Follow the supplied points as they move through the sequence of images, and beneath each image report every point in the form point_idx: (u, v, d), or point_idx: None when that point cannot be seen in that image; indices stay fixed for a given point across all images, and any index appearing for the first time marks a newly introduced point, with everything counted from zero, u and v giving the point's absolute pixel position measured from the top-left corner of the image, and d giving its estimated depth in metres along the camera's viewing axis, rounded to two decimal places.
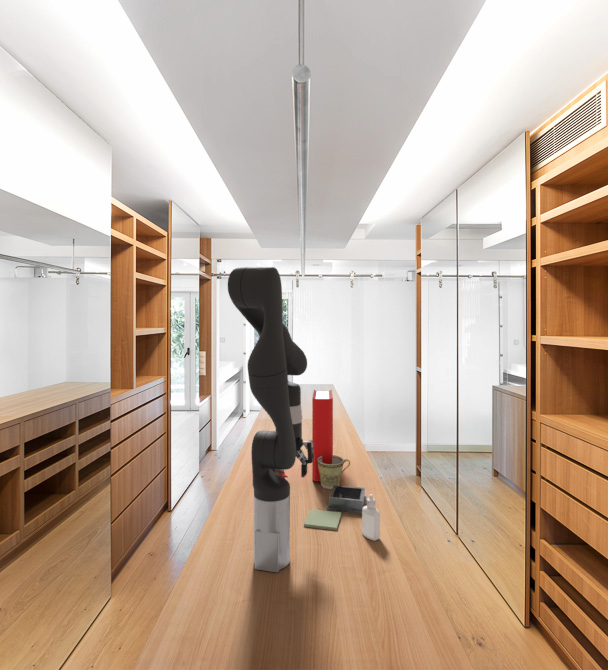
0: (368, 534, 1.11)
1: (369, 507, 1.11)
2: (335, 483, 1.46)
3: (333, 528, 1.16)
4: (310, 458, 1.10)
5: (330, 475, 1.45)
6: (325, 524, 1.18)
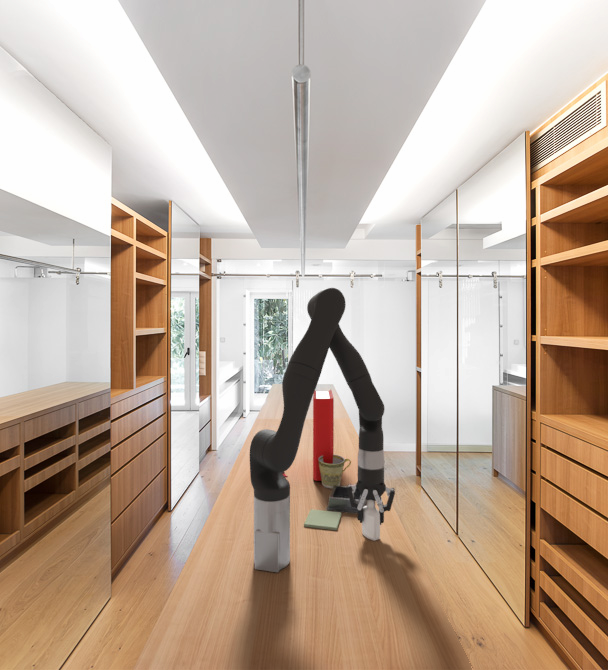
0: (368, 534, 1.11)
1: (369, 507, 1.11)
2: (336, 482, 1.47)
3: (333, 528, 1.16)
4: (389, 506, 1.10)
5: (331, 474, 1.45)
6: (325, 524, 1.18)
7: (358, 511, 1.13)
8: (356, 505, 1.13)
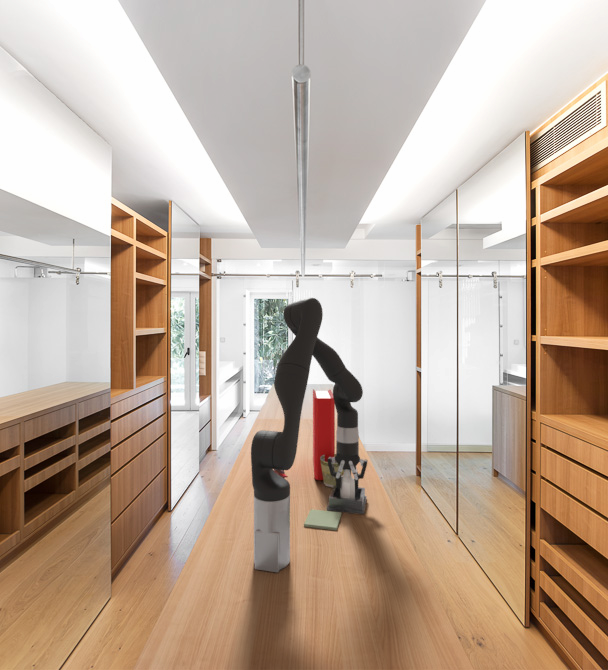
0: None
1: (346, 475, 1.32)
2: None
3: (333, 528, 1.16)
4: (362, 474, 1.31)
5: None
6: (325, 524, 1.18)
7: (337, 479, 1.33)
8: (335, 474, 1.33)
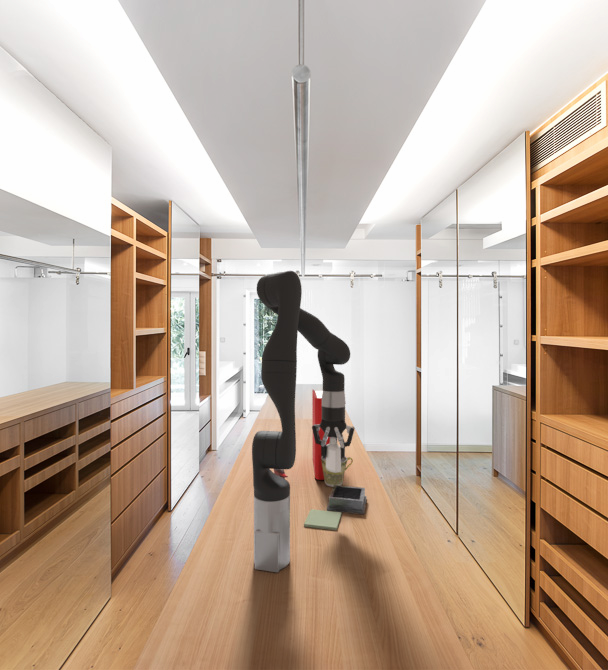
0: (330, 467, 1.24)
1: (331, 443, 1.24)
2: (339, 481, 1.48)
3: (333, 528, 1.16)
4: (349, 442, 1.23)
5: (335, 473, 1.46)
6: (325, 524, 1.18)
7: (322, 447, 1.25)
8: (320, 442, 1.25)
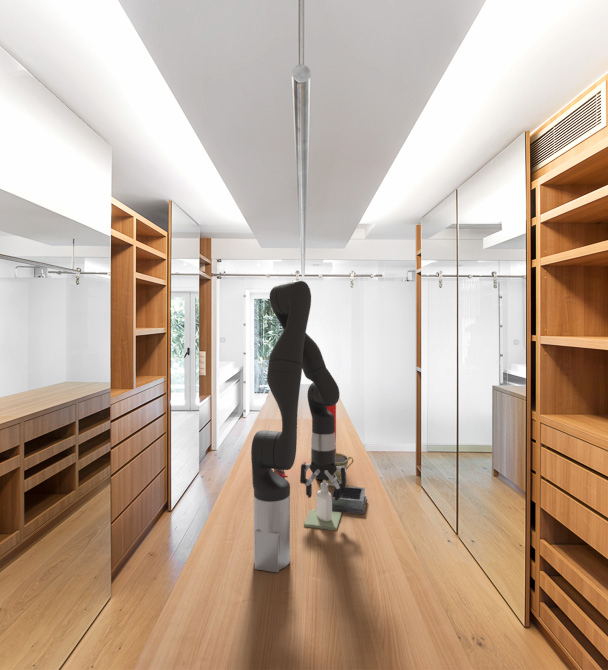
0: (321, 515, 1.20)
1: (322, 491, 1.21)
2: (340, 480, 1.48)
3: (333, 528, 1.16)
4: (343, 482, 1.19)
5: (336, 473, 1.47)
6: (325, 524, 1.18)
7: (307, 487, 1.22)
8: (305, 481, 1.22)
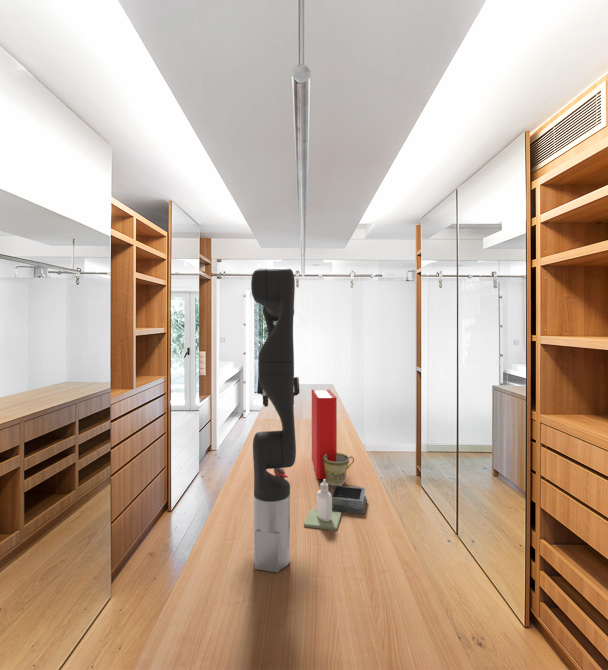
0: (321, 515, 1.20)
1: (322, 491, 1.21)
2: (342, 480, 1.49)
3: (333, 528, 1.16)
4: (296, 391, 1.30)
5: (338, 472, 1.47)
6: (325, 524, 1.18)
7: (263, 397, 1.33)
8: (262, 392, 1.34)
